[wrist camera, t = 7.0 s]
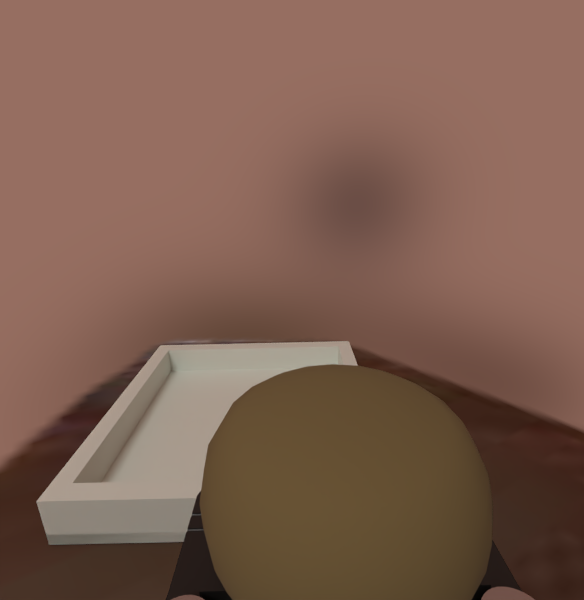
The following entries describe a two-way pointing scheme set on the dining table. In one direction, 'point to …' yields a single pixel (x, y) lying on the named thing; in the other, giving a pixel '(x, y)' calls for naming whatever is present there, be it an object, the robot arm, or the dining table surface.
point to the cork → (345, 491)
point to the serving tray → (163, 441)
